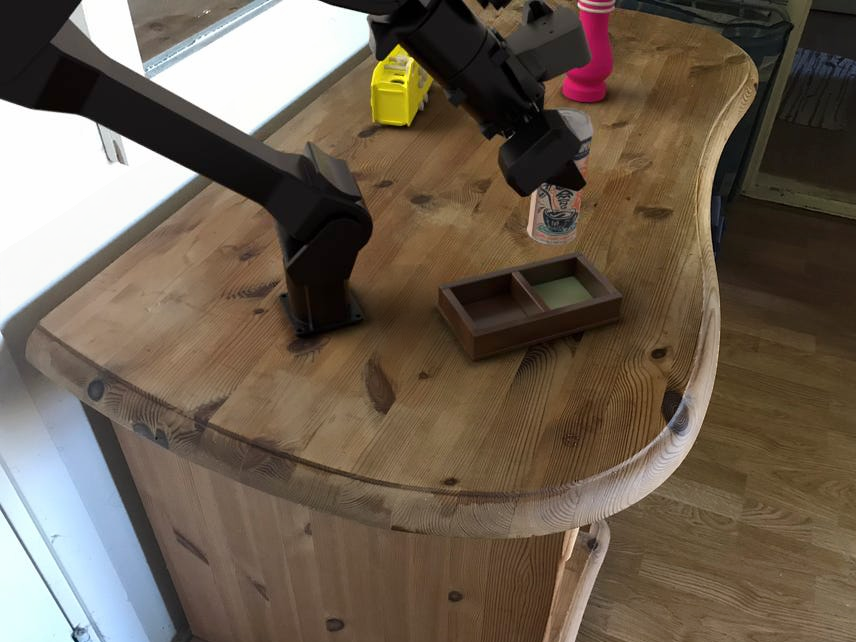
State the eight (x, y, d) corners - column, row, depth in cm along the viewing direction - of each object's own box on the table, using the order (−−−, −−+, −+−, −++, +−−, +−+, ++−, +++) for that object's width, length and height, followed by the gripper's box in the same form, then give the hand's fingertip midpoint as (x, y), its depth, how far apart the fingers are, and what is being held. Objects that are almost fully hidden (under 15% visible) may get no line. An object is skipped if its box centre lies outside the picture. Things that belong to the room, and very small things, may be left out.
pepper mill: (617, 101, 112) (642, -50, 99) (572, 107, 110) (593, -47, 97) (593, 81, 117) (615, -65, 104) (550, 86, 115) (567, -62, 102)
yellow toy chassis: (412, 132, 102) (411, 69, 96) (370, 127, 102) (367, 64, 97) (436, 84, 114) (437, 26, 108) (399, 80, 114) (397, 22, 109)
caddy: (618, 321, 74) (623, 296, 72) (473, 362, 69) (474, 336, 67) (575, 275, 80) (579, 250, 78) (437, 309, 74) (438, 284, 72)
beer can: (532, 250, 72) (547, 130, 64) (521, 223, 76) (534, 105, 68) (581, 248, 73) (602, 128, 65) (568, 221, 77) (586, 105, 69)
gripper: (572, 18, 51) (687, 162, 61) (509, -58, 65) (611, 70, 74) (452, 133, 55) (577, 252, 65) (416, 39, 69) (524, 149, 78)
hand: (574, 173), depth 70 cm, fingers closed on beer can, 5 cm apart
